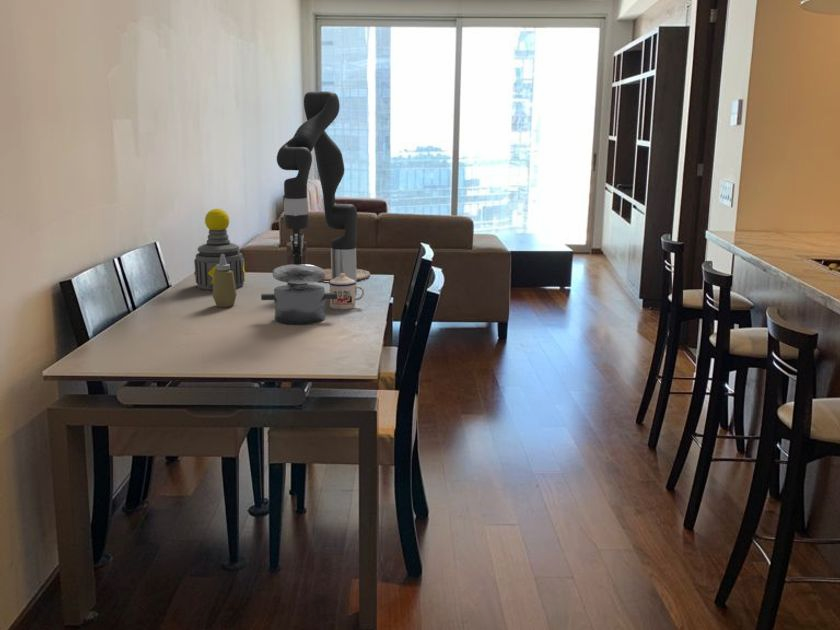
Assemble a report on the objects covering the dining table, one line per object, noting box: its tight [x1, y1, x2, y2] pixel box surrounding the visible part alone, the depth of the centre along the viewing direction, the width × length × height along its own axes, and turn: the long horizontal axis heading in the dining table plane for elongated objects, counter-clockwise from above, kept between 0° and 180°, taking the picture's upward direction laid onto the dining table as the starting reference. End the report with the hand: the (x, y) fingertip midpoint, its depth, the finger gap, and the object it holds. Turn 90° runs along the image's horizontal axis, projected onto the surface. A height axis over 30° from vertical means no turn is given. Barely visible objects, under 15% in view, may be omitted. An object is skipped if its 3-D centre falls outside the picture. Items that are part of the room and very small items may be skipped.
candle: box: [286, 240, 308, 285], centre depth 293 cm, size 8×7×20 cm
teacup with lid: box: [328, 273, 365, 310], centre depth 276 cm, size 12×9×12 cm
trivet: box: [320, 268, 371, 282], centre depth 332 cm, size 25×25×2 cm
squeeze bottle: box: [212, 254, 237, 308], centre depth 277 cm, size 8×8×18 cm
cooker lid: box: [272, 263, 325, 284], centre depth 258 cm, size 17×17×3 cm
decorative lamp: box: [193, 208, 246, 291], centre depth 310 cm, size 19×19×30 cm
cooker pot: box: [260, 283, 337, 326], centre depth 259 cm, size 16×24×10 cm, turn 95°
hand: (298, 267), depth 254 cm, fingers closed
